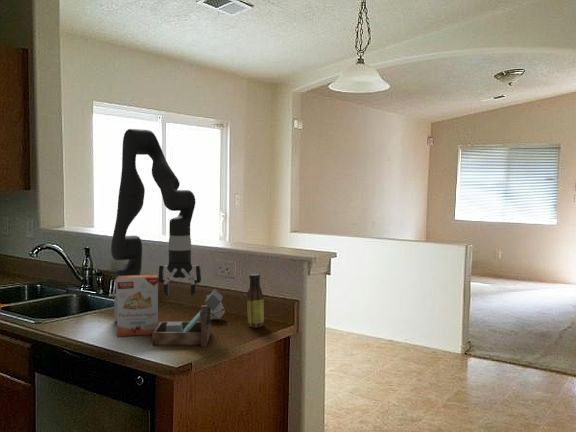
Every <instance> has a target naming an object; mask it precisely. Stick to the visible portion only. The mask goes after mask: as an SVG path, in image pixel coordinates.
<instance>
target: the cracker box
mask: <svg viewBox="0 0 576 432" xmlns="http://www.w3.org/2000/svg"><path fill="white" fill-rule="evenodd" d="M158 278H159V275H158V274H144V275H142V274H140V275H133V276H118V278H117V322H116V323H117V325H116V327H117V329H116V336H117V338H118V337H132V336H133V337H134V336H150V335H152V333H153V331H154V330H155V328H156V327H157V326H158V324H159V320H158V319H159V317H158V316H159V282H158Z"/></svg>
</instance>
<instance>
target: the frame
mask: <svg viewBox="0 0 576 432" xmlns="http://www.w3.org/2000/svg"><path fill="white" fill-rule="evenodd" d="M209 295H210V294H208V295H205V300H204V302H205V301H206V298H207V297H208V296H209ZM200 310H201V311H200ZM200 310H199V312H200V317H201V318H200V321H197V323H196V324H195V325H194V326H193V327H192V328H191V329H190V330H189V331H188V332H166V325H167V323H168V322H169V321H160V322H158V326H157V327H156V328H155V330H154V331H153V333H152V336H151V338H152V339H151V341H152V345H151V346H152V347H157V346H162V347H164V346H167V347H170V346H173V347H174V346H176V347H177V346H181V347H182V346H185V347H186V345H190V346H191V345H200V347H201V348H207V347H208V343H209V340H210V337H211V335H212V333H211V332H212V331H211V330H212V322H211V321H212V319H211V309H210V308H208V309H207V310H206V304H205V303H204V305H201V306H200ZM182 322H183V330H184V328H185V327H186V326H187V325H188V323H189V322H190V321H182Z"/></svg>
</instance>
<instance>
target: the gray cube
mask: <svg viewBox="0 0 576 432" xmlns="http://www.w3.org/2000/svg"><path fill="white" fill-rule="evenodd" d="M167 322H168V323H167V325H166V332H182V331H183V322H184V321H167Z"/></svg>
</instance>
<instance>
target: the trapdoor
mask: <svg viewBox="0 0 576 432" xmlns="http://www.w3.org/2000/svg"><path fill="white" fill-rule="evenodd" d="M208 295H209V296H208V297H207V298H206V297H205V300H206V301H205V300H204V305H205V304H206V310H207V309H208V308H210V309H212V310H213V311H214V309H215V308H216V307H217V306H218V305H219V304H220V303H221V301H222V300H223V298H224V296H223V294H221V293H220V292H219V291H218V290H217V289H216V288H214V289H213V290H212V292H211V293H210V294H208ZM222 302H223V301H222ZM200 311H201V309H200V310H199V311H198V312H197V314H196V315H195V316H194V317H192V319H191V320H190V321H188V322H189V323H188V325H187V326H186V327H185V328H184V330H183V331H182V332H188V331H189V330H190V329H191V328H192V327H193V326H194V325H195V324H196V323H197V322H199V320H201V317H200Z"/></svg>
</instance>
